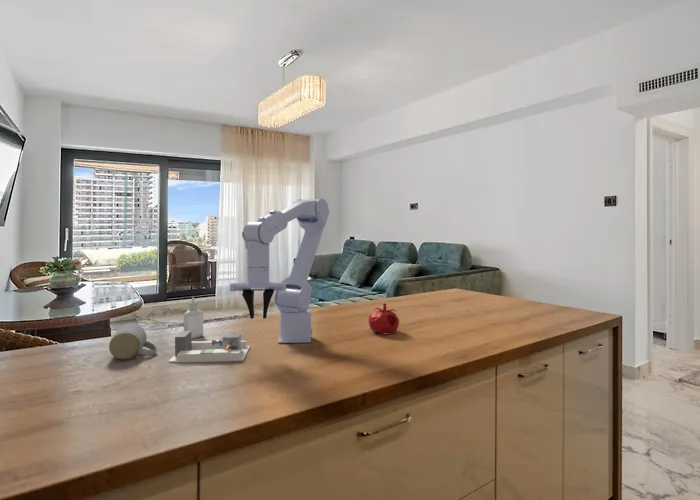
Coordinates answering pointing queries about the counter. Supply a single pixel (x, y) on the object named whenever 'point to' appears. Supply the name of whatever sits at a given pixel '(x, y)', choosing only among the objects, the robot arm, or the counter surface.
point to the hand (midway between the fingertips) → (258, 317)
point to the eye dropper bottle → (194, 320)
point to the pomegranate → (383, 321)
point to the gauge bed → (204, 350)
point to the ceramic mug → (130, 342)
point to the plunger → (229, 341)
